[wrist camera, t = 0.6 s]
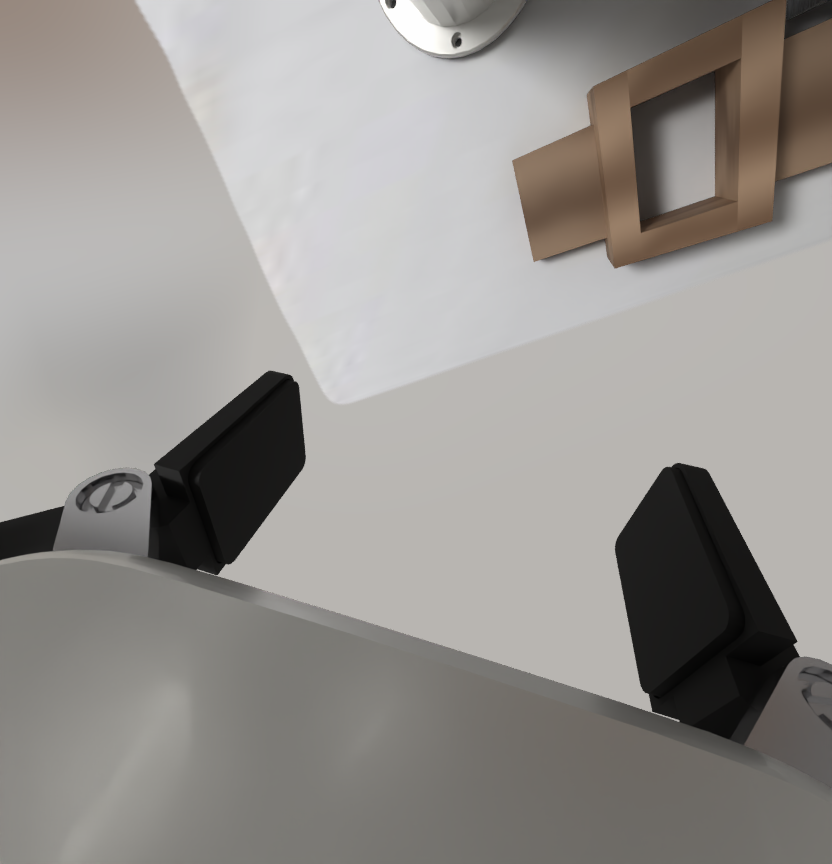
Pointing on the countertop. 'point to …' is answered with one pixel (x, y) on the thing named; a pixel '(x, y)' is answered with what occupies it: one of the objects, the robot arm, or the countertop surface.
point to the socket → (734, 141)
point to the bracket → (801, 6)
